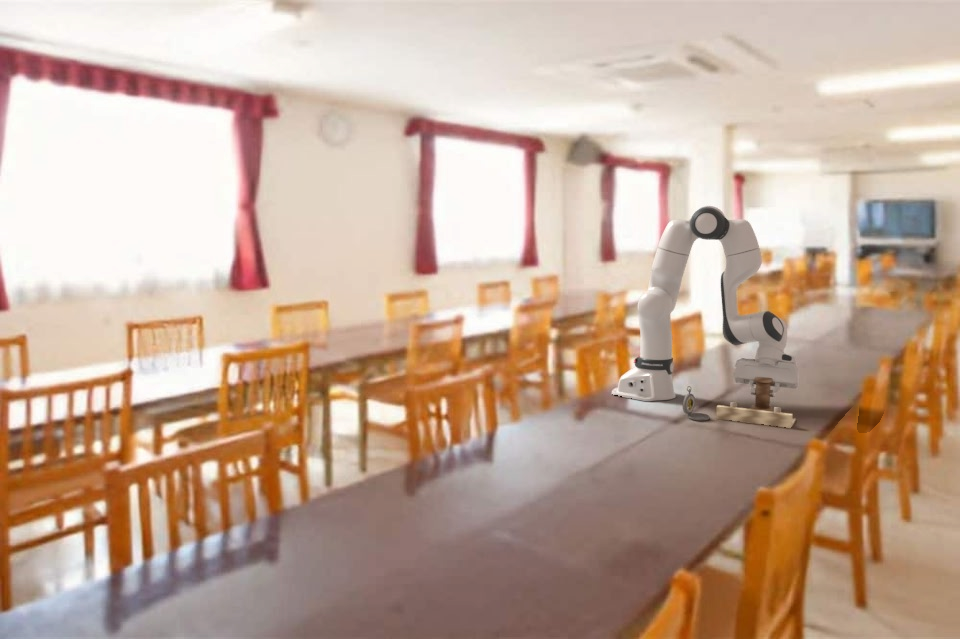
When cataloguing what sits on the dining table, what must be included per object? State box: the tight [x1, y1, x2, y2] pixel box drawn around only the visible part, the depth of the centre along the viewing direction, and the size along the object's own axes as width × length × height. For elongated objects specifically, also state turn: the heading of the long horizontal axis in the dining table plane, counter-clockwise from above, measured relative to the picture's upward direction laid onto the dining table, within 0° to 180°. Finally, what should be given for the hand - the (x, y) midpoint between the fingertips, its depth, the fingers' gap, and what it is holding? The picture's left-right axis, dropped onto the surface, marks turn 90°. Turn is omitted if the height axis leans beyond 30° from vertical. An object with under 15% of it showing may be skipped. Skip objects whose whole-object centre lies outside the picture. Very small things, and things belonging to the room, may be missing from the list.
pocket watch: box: [682, 385, 711, 422], centre depth 225 cm, size 8×8×10 cm
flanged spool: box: [750, 377, 775, 412], centre depth 232 cm, size 7×7×11 cm
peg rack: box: [715, 401, 797, 429], centre depth 222 cm, size 22×10×5 cm, turn 59°
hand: (762, 394), depth 232 cm, fingers closed on flanged spool, 4 cm apart
